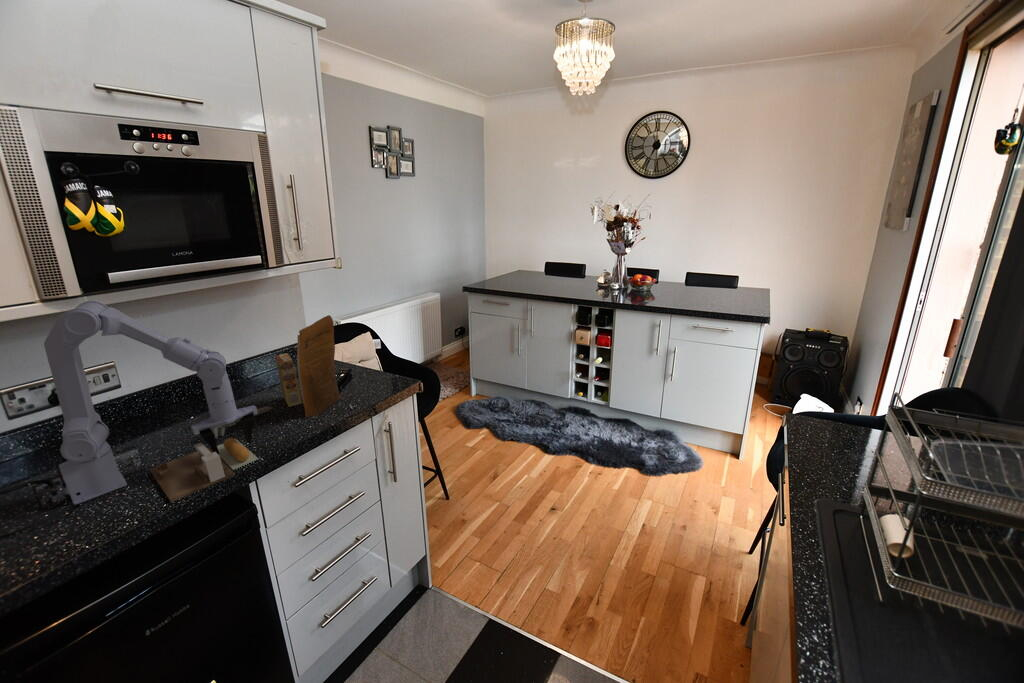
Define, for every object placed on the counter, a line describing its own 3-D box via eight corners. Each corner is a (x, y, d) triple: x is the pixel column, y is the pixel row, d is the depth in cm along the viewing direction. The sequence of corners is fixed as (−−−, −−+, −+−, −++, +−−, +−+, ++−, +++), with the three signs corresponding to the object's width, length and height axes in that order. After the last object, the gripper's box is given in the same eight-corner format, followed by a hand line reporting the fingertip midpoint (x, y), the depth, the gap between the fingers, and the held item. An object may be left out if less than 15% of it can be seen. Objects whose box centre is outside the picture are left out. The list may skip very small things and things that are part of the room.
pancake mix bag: (352, 394, 155) (339, 313, 146) (315, 421, 137) (297, 331, 129) (335, 393, 156) (321, 313, 148) (296, 419, 139) (277, 330, 130)
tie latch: (210, 482, 107) (205, 461, 106) (196, 466, 114) (190, 446, 113) (225, 476, 109) (219, 455, 108) (210, 460, 117) (204, 441, 115)
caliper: (216, 440, 129) (211, 420, 127) (214, 440, 129) (208, 420, 127) (273, 409, 147) (269, 390, 145) (270, 408, 148) (266, 390, 146)
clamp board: (170, 502, 102) (167, 492, 102) (150, 471, 115) (147, 462, 114) (234, 475, 111) (232, 466, 111) (209, 449, 124) (206, 441, 123)
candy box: (302, 403, 149) (293, 359, 145) (288, 407, 147) (279, 362, 142) (296, 395, 156) (287, 352, 152) (282, 398, 154) (273, 355, 149)
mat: (233, 470, 113) (232, 469, 113) (212, 449, 124) (211, 448, 124) (258, 460, 118) (258, 458, 117) (236, 440, 128) (235, 438, 128)
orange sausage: (220, 447, 122) (223, 436, 122) (233, 447, 124) (235, 436, 124) (237, 463, 114) (239, 451, 114) (249, 462, 117) (252, 451, 117)
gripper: (192, 415, 108) (206, 465, 112) (257, 394, 118) (268, 441, 123) (183, 407, 113) (197, 456, 117) (247, 388, 123) (257, 433, 127)
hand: (233, 448), depth 120 cm, fingers open, 7 cm apart
